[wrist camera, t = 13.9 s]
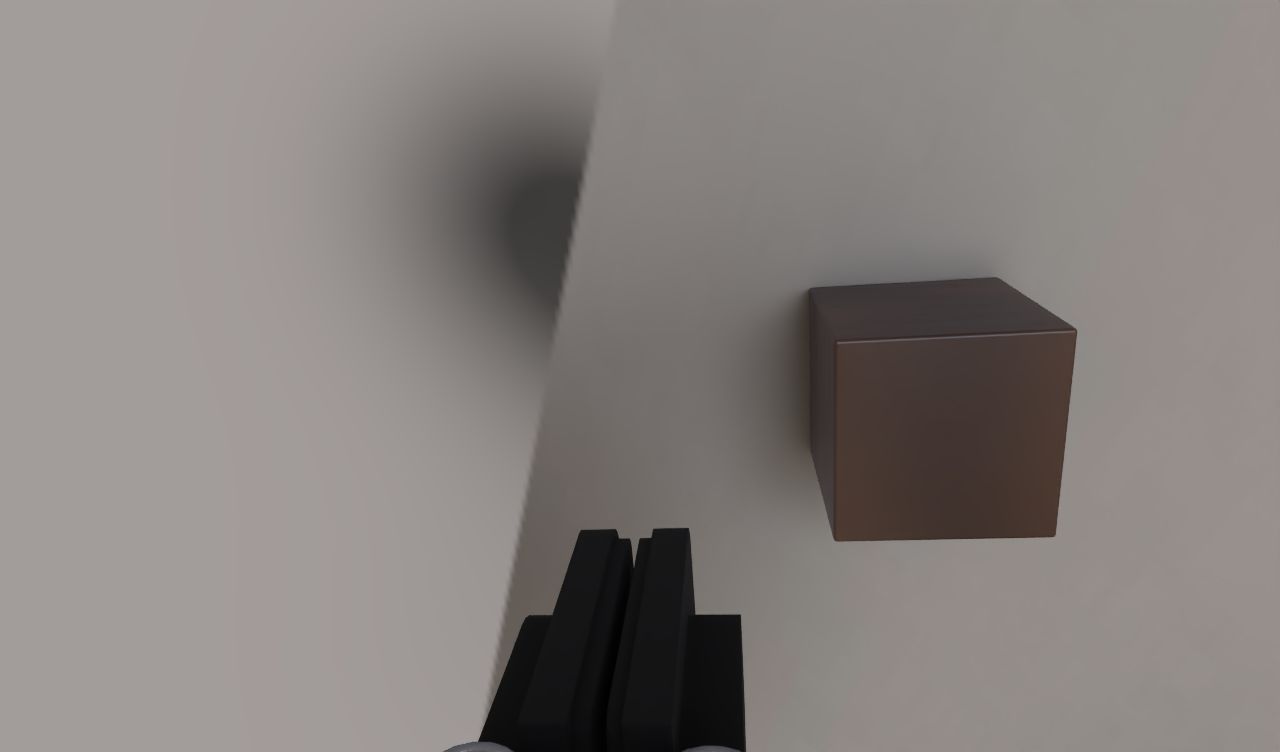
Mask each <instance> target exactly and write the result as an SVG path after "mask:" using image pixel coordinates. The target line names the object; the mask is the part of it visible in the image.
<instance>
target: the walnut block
mask: <svg viewBox="0 0 1280 752" xmlns="http://www.w3.org/2000/svg"><path fill="white" fill-rule="evenodd" d="M809 304H810V413H811V454H812V458H813V462H814V465H815V469H816V473H817V477H818V481H819V485H820V488H821V492H822V496H823V500H824V504H825V508H826V511H827V515H828V519H829V523H830V527H831V530H832V534H833V538H834V540H835V541H885V540H935V539H984V538H1034V537H1054V536H1055V535H1056V526H1057V516H1058V507H1059V497H1060V488H1061V479H1062V469H1063V460H1064V450H1065V441H1066V432H1067V422H1068V413H1069V403H1070V394H1071V385H1072V375H1073V366H1074V356H1075V347H1076V338H1077V330H1076V328H1074V327H1073V326H1071V325H1070V324H1068V323H1067V322H1065V321H1063V320H1062V319H1060V318H1059V317H1057V316H1056V315H1054V314H1053V313H1051V312H1050V311H1048V310H1047V309H1045V308H1044V307H1042V306H1040V305H1039V304H1037V303H1036V302H1034V301H1033V300H1031V299H1030V298H1028V297H1027V296H1025V295H1024V294H1022V293H1021V292H1019V291H1018V290H1016V289H1014V288H1013V287H1011V286H1010V285H1008V284H1007V283H1005V282H1004V281H1002V280H1001V279H999V278H981V279H963V280H946V281H928V282H910V283H892V284H874V285H856V286H838V287H820V288H811V289H810V291H809Z"/></svg>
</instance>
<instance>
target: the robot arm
mask: <svg viewBox="0 0 1280 752" xmlns="http://www.w3.org/2000/svg"><path fill="white" fill-rule="evenodd" d="M444 752H746V736H745V704H744V677H743V653H742V630H741V615H695V601H694V586H693V572H692V557H691V542H690V532H689V528H664V529H653V533H652V538H640V540H639V544H638V550H637V555H636V560H635V565H634V566H633V555H632V546H631V541H630V539H629V538H627V539H619V536H618V532H617V530H616V529H604V530H581V531H580V533H579V535H578V539H577V542H576V545H575V548H574V551H573V554H572V557H571V560H570V563H569V566H568V569H567V572H566V575H565V578H564V581H563V584H562V588H561V591H560V594H559V597H558V600H557V603H556V606H555V609H554V612H553V615H529V616H528V617H526V618H525V620H524V622H523V624H522V626H521V629H520V632H519V634H518V637H517V640H516V642H515V645H514V648H513V650H512V653H511V656H510V658H509V661H508V664H507V666H506V669H505V672H504V674H503V677H502V680H501V682H500V685H499V688H498V690H497V693H496V696H495V698H494V701H493V703H492V706H491V709H490V711H489V714H488V717H487V719H486V722H485V725H484V727H483V730H482V733H481V735H480V738H479V741H478V742H471V743H466V744H462V745H457V746H454V747H452V748H450V749H448V750H445V751H444Z"/></svg>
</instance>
